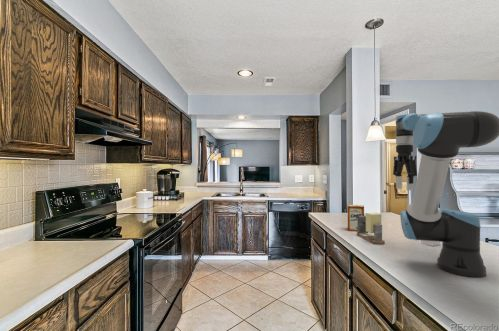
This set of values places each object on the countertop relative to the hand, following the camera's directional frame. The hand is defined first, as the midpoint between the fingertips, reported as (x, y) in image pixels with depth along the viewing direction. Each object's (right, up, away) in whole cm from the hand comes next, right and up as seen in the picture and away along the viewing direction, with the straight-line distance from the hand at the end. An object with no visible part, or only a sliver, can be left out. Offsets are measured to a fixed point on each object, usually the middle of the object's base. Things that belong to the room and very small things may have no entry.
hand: (404, 189), depth 133 cm
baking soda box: (-12, -29, +32) cm, 45 cm away
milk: (+16, -29, +3) cm, 33 cm away
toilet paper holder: (-12, -29, +12) cm, 34 cm away
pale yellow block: (-12, -24, +9) cm, 28 cm away
